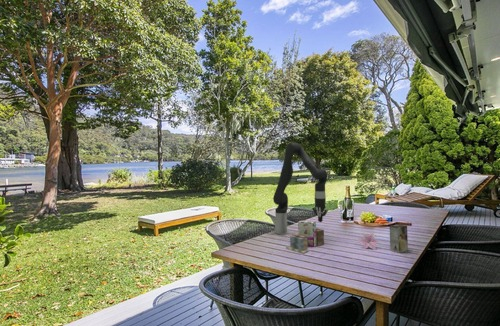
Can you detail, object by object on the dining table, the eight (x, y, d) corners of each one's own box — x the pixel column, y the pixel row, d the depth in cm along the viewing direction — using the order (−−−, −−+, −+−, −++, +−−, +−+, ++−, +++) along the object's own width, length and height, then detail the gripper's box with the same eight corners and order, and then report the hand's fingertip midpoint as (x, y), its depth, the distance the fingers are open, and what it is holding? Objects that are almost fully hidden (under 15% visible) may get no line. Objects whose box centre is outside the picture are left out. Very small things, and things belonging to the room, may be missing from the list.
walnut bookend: (304, 242, 199) (304, 228, 199) (310, 240, 203) (310, 226, 203) (318, 246, 190) (318, 231, 190) (324, 244, 194) (323, 229, 194)
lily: (355, 248, 191) (356, 237, 186) (363, 238, 198) (364, 228, 193) (372, 257, 184) (374, 246, 179) (380, 246, 191) (382, 236, 186)
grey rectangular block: (286, 248, 190) (285, 234, 190) (312, 241, 207) (312, 228, 207) (303, 253, 178) (302, 238, 178) (329, 245, 195) (329, 231, 195)
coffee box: (398, 248, 186) (398, 223, 186) (408, 250, 181) (407, 225, 181) (389, 250, 182) (389, 225, 182) (398, 253, 176) (398, 227, 176)
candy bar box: (316, 245, 191) (316, 221, 191) (314, 247, 187) (313, 223, 187) (301, 243, 198) (300, 219, 197) (298, 245, 193) (297, 221, 193)
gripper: (331, 197, 198) (331, 222, 198) (316, 196, 208) (316, 219, 208) (324, 198, 193) (324, 224, 193) (309, 197, 204) (309, 221, 204)
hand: (320, 221), depth 201 cm, fingers closed
